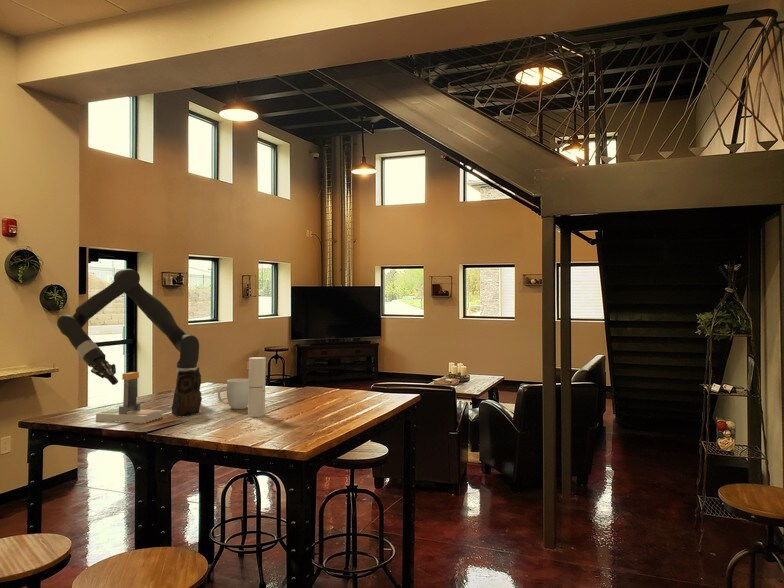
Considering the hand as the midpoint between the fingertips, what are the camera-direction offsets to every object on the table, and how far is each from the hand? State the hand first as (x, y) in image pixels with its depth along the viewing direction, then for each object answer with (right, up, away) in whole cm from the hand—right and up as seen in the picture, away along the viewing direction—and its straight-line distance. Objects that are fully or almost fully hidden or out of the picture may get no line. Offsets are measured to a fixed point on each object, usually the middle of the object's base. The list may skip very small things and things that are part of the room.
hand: (115, 383), depth 228 cm
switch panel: (+7, -15, -2) cm, 16 cm away
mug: (+43, -16, +27) cm, 53 cm away
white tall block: (+56, -16, +10) cm, 59 cm away
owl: (+24, -16, +12) cm, 31 cm away
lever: (+7, -11, -2) cm, 13 cm away
